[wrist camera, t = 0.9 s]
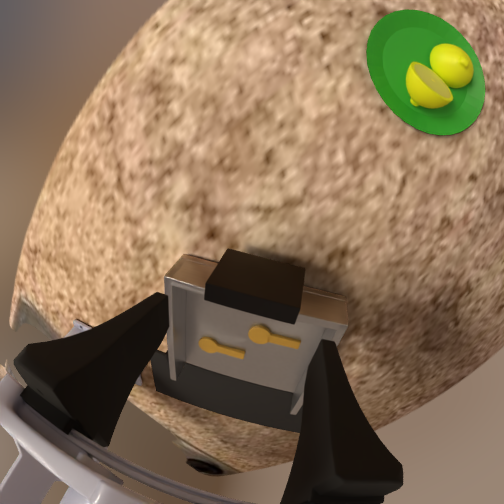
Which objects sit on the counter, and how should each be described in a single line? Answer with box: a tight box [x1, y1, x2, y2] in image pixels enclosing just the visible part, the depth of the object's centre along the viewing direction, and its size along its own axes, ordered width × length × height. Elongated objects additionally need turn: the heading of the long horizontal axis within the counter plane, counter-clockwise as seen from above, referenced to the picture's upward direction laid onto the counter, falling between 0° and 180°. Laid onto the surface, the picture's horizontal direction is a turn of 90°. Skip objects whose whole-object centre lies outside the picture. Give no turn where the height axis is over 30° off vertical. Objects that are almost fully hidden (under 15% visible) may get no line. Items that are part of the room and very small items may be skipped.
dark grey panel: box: [150, 350, 303, 433], centre depth 28 cm, size 20×9×1 cm, turn 80°
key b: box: [248, 325, 301, 349], centre depth 21 cm, size 4×2×1 cm, turn 80°
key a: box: [198, 337, 245, 359], centre depth 23 cm, size 4×2×1 cm, turn 80°
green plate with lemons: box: [366, 10, 485, 135], centre depth 10 cm, size 8×8×3 cm
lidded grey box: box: [164, 249, 348, 415], centre depth 20 cm, size 14×12×5 cm
